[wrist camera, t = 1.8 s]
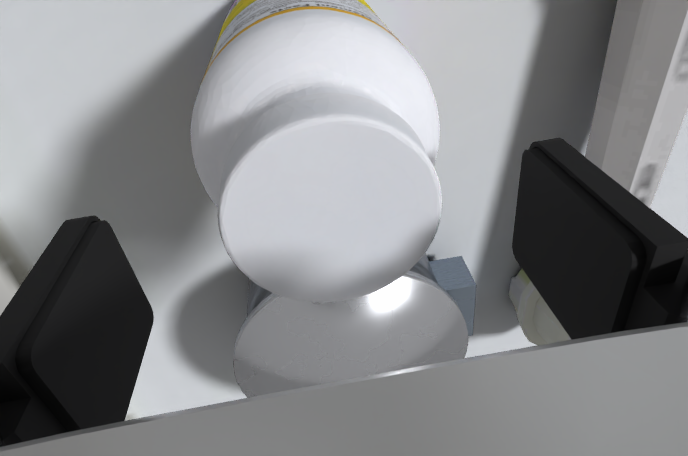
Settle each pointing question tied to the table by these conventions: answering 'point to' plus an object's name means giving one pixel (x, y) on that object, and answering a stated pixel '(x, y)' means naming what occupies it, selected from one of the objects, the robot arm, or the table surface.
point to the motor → (356, 330)
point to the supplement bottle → (317, 148)
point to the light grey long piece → (627, 123)
